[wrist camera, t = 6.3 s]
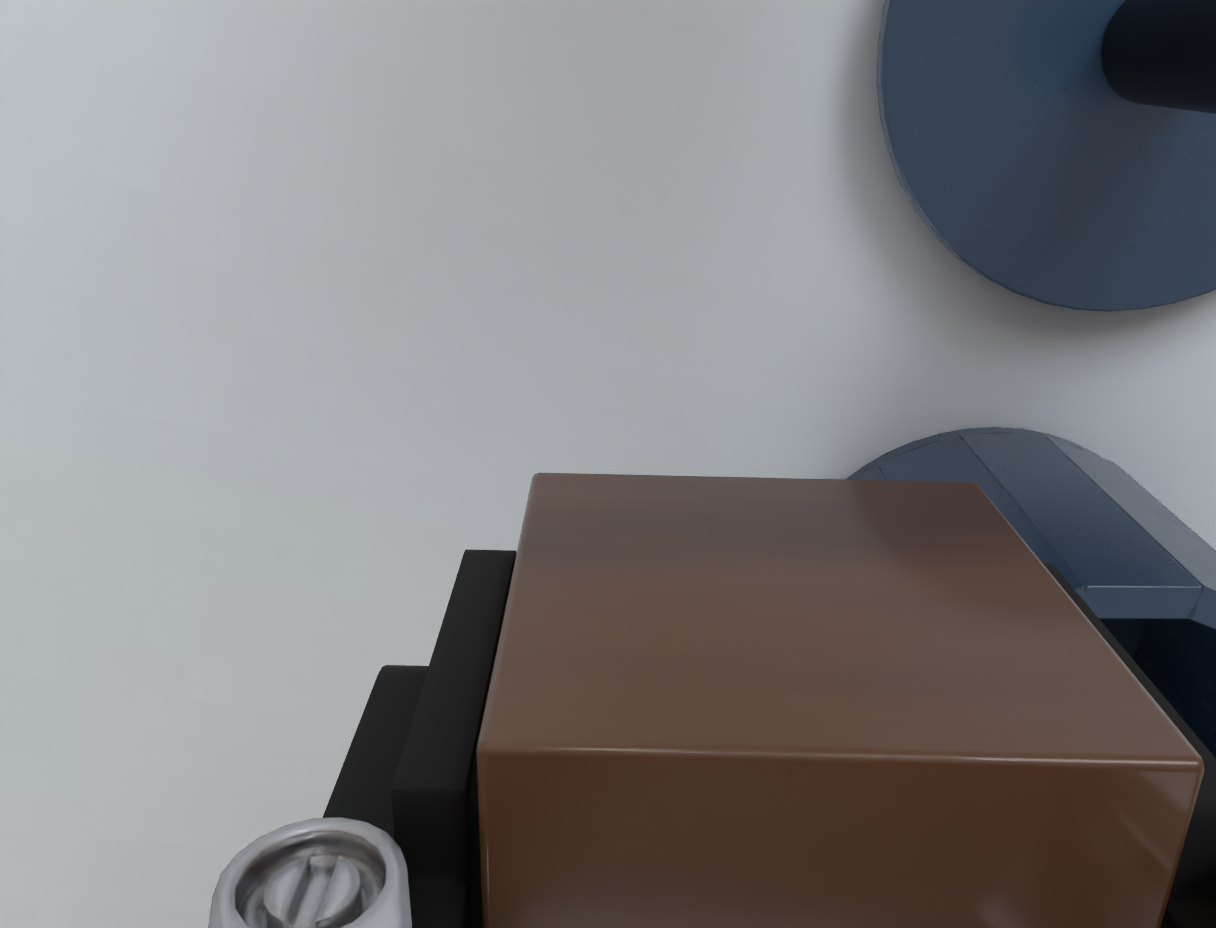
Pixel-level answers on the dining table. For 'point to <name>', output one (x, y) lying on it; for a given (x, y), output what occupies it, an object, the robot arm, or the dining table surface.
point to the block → (812, 719)
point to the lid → (1060, 142)
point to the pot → (1094, 547)
